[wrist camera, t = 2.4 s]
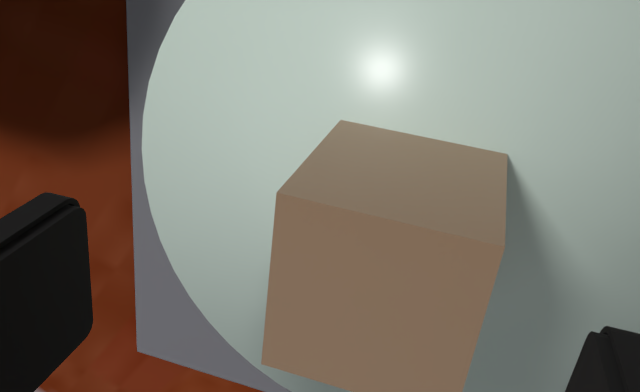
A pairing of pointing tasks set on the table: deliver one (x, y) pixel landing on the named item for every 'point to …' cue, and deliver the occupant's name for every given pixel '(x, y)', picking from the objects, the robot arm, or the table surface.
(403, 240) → the lid
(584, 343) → the robot arm
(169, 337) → the mat
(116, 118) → the table surface
